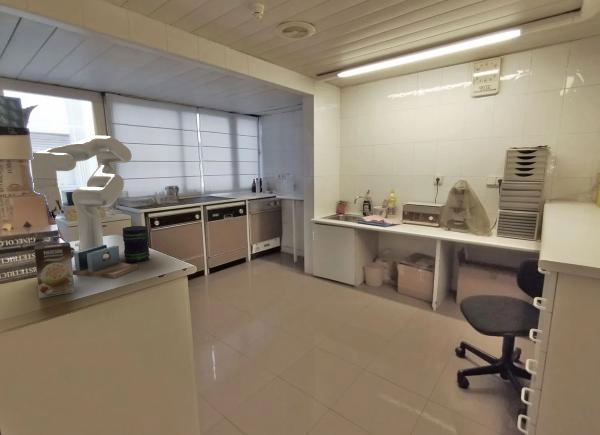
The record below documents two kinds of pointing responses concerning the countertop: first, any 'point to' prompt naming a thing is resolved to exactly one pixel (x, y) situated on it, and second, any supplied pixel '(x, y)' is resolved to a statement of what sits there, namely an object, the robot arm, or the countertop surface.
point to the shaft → (105, 256)
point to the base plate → (109, 270)
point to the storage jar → (135, 244)
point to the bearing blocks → (96, 258)
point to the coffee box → (54, 269)
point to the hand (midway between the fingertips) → (50, 228)
